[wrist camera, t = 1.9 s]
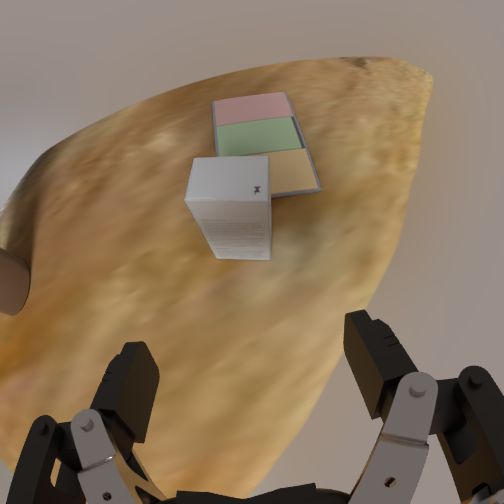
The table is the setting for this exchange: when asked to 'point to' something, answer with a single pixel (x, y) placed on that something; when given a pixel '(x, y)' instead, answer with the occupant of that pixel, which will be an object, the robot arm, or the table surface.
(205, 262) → the table surface
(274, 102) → the multicoloured flat board
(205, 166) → the skincare box
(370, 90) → the table surface
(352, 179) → the table surface
